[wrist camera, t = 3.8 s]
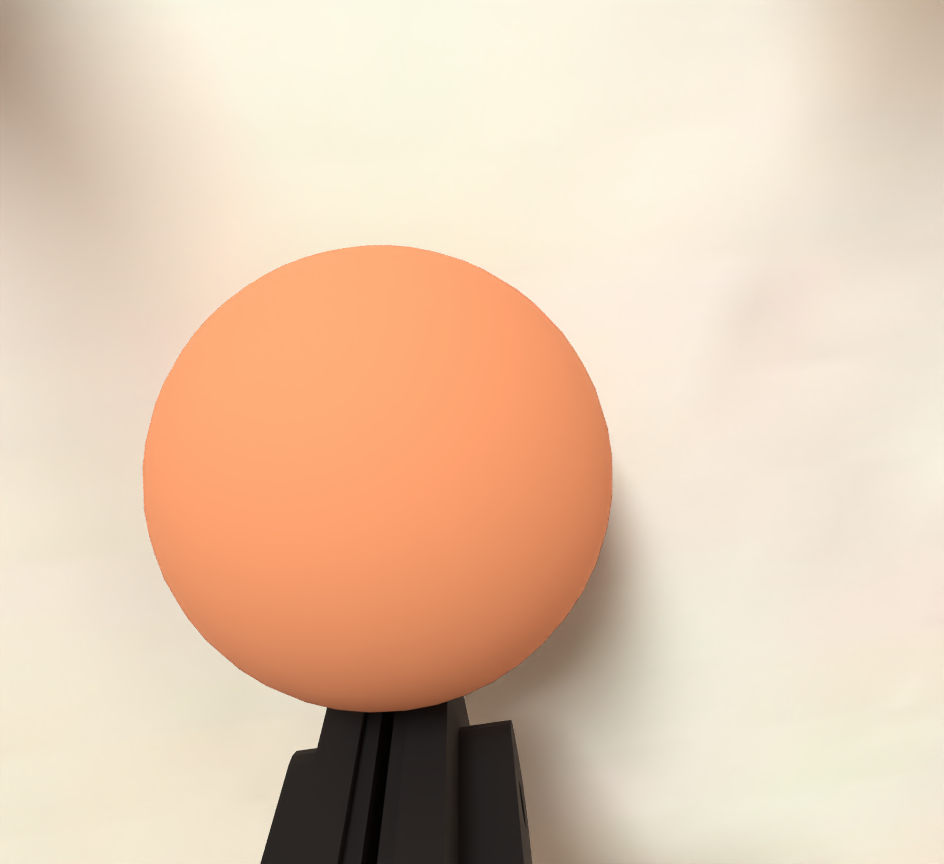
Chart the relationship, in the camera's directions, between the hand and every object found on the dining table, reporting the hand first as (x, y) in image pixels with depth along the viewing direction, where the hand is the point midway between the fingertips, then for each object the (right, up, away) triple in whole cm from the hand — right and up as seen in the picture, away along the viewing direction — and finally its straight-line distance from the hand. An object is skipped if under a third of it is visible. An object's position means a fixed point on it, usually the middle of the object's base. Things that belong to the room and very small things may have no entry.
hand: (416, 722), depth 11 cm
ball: (0, +4, -2) cm, 4 cm away
